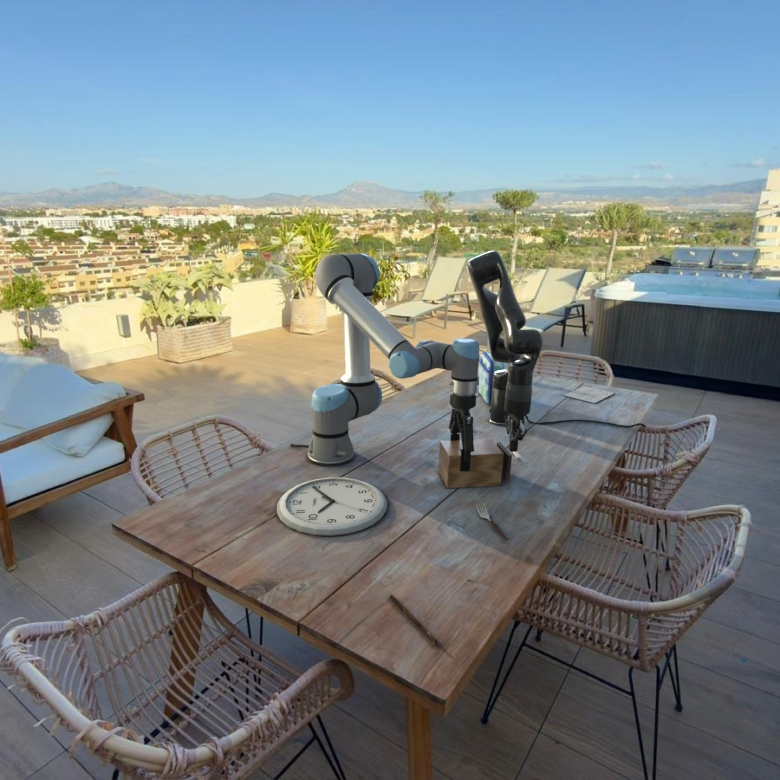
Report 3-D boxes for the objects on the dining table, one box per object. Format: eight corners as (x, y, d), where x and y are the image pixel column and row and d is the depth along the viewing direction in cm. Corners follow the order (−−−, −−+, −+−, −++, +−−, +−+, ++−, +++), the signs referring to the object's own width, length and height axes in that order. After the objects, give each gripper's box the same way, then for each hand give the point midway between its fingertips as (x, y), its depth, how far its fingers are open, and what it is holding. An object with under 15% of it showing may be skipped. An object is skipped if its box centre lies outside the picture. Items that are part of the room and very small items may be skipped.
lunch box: (475, 390, 246) (478, 346, 240) (498, 390, 246) (501, 347, 240) (484, 408, 221) (487, 360, 215) (509, 409, 221) (513, 360, 215)
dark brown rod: (389, 598, 107) (389, 594, 107) (391, 597, 107) (391, 593, 107) (435, 645, 95) (435, 641, 95) (437, 644, 96) (437, 640, 95)
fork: (502, 542, 127) (502, 535, 126) (474, 509, 141) (475, 503, 141) (511, 541, 127) (512, 534, 127) (483, 508, 142) (484, 502, 142)
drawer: (515, 465, 166) (517, 441, 164) (527, 480, 157) (530, 454, 155) (452, 468, 163) (453, 444, 161) (460, 483, 154) (462, 457, 152)
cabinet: (488, 468, 166) (491, 438, 163) (500, 485, 156) (503, 453, 152) (438, 471, 164) (440, 440, 161) (447, 488, 153) (449, 456, 150)
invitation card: (584, 385, 255) (614, 392, 245) (584, 386, 255) (614, 393, 245) (563, 394, 240) (594, 402, 230) (563, 395, 240) (594, 403, 230)
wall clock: (392, 527, 129) (268, 531, 127) (391, 533, 130) (269, 537, 127) (383, 473, 158) (282, 475, 155) (383, 478, 158) (282, 480, 156)
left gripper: (441, 381, 162) (438, 446, 168) (462, 406, 139) (457, 480, 146) (464, 381, 163) (460, 445, 169) (489, 405, 140) (483, 479, 147)
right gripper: (498, 390, 160) (493, 442, 165) (514, 404, 147) (508, 460, 152) (521, 389, 161) (516, 442, 166) (539, 403, 148) (533, 459, 153)
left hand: (459, 462), depth 157 cm, fingers closed on cabinet, 11 cm apart
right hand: (512, 450), depth 159 cm, fingers closed
